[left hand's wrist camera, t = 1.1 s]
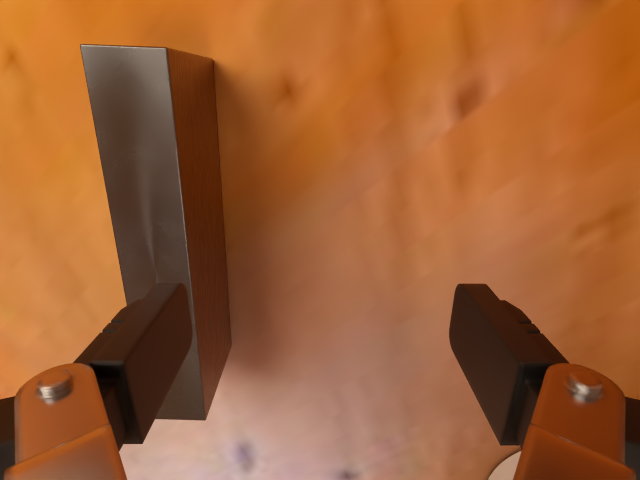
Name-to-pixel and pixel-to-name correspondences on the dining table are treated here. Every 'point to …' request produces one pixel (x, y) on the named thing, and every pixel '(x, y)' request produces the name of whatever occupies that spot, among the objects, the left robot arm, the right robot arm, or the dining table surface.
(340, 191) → the dining table surface
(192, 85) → the bar
